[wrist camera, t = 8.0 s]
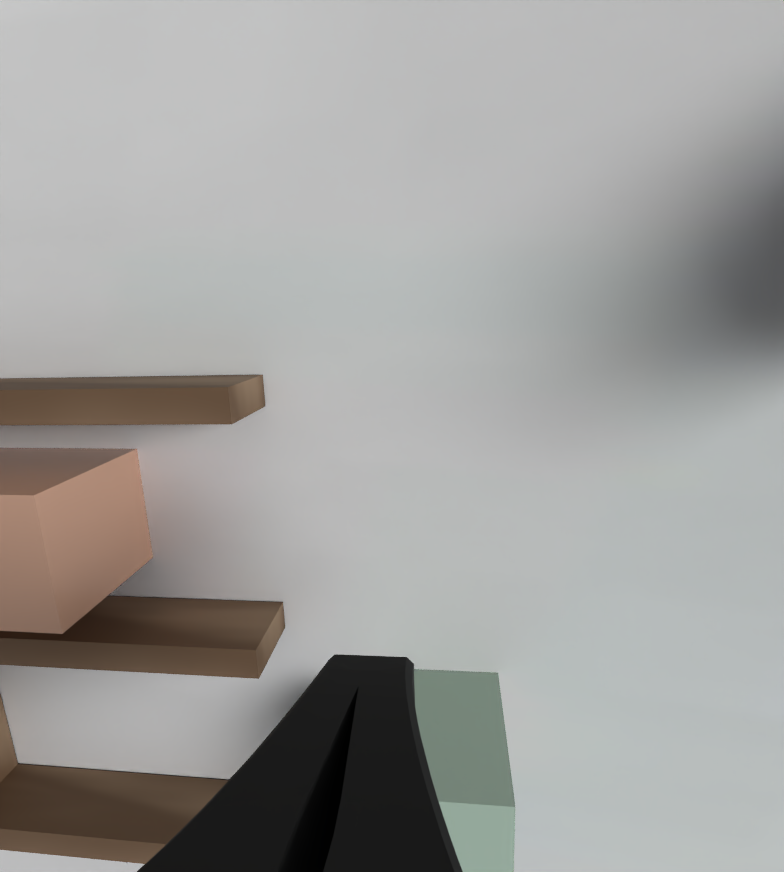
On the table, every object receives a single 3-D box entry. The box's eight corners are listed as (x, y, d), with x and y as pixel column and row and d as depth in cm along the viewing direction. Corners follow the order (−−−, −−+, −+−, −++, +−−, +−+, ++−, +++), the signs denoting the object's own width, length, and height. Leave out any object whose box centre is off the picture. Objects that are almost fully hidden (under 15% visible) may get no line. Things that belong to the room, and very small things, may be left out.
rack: (301, 806, 20) (278, 883, 17) (-6, 781, 22) (-71, 848, 19) (262, 374, 16) (224, 388, 13) (-113, 380, 18) (-216, 393, 15)
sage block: (496, 765, 19) (512, 924, 14) (388, 758, 19) (367, 909, 14) (497, 672, 18) (515, 807, 13) (383, 666, 18) (360, 795, 13)
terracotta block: (154, 555, 18) (62, 634, 14) (2, 551, 19) (-132, 623, 15) (138, 447, 17) (34, 495, 13) (-23, 446, 18) (-173, 491, 14)
